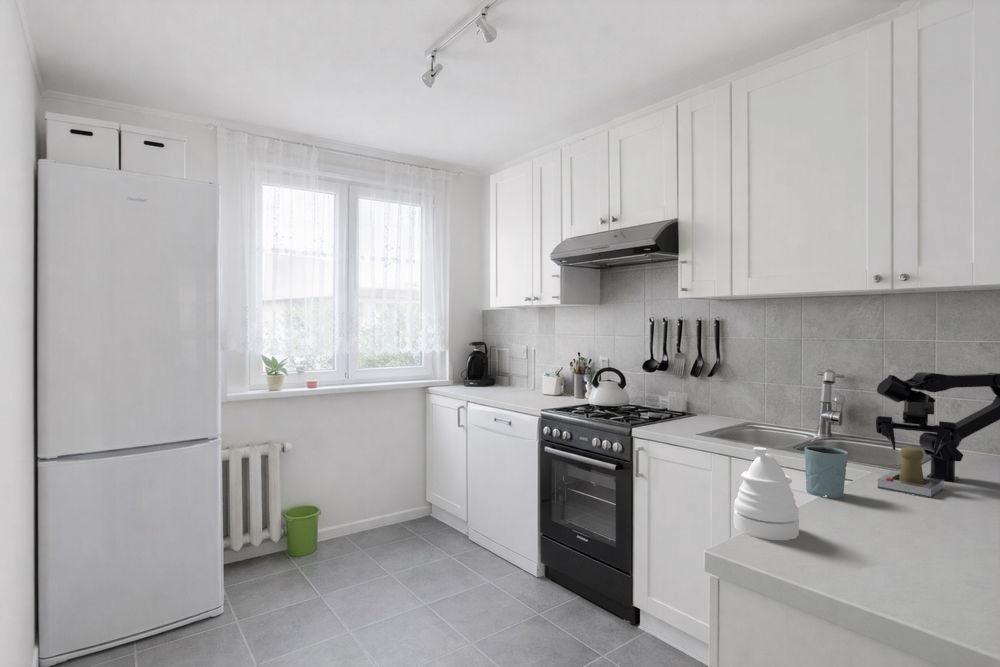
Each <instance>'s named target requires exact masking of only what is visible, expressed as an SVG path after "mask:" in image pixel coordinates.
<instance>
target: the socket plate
mask: <svg viewBox="0 0 1000 667" xmlns="http://www.w3.org/2000/svg"><path fill="white" fill-rule="evenodd" d="M900 472H901V471H900ZM900 472H899V471H892V470H891V471H890V472H889V473H886V474H885V475H883V476H881V477H879V478H877V488H878V489H881V490H886V489H887V490H888V491H891V490H892V492H896V491H897V493H901V492H903V494H907V493H908V495H912V494H914V495H913V496H917V495H919V496H918V497H922V496H923V498H927V497H928V499H932V498H933V497H935V496H936V495H938V494H939V493H940V492H942V491H943V490H944V489H945V482H944V481H945V480H941V479H935V478H929V477H927V476H923V478H924V485H921V484H916V483H910V482H904V481H899V478H900ZM887 490H886V491H887ZM941 490H942V491H941ZM934 495H935V496H934Z"/></svg>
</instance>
